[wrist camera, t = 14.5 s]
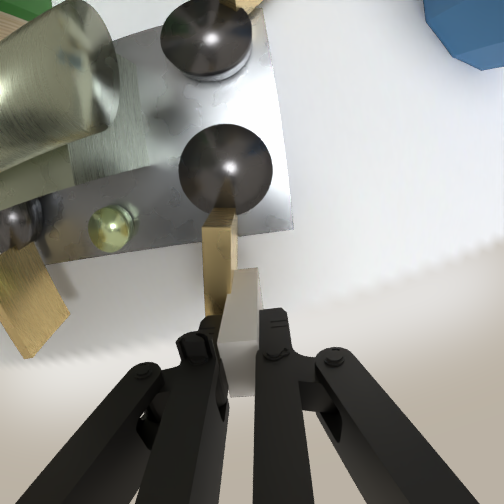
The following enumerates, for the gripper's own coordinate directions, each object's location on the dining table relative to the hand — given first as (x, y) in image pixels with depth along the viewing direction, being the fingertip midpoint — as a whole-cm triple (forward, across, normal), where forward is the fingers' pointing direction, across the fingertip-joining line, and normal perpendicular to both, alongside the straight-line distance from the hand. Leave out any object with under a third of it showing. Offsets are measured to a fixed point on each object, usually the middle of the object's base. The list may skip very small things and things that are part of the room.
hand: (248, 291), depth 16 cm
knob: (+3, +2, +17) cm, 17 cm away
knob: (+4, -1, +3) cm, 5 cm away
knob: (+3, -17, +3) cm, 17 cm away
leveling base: (+6, -9, +10) cm, 14 cm away
